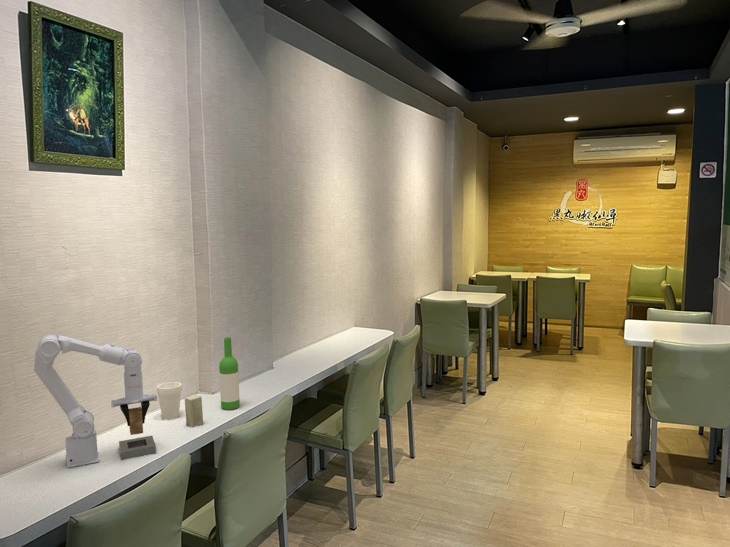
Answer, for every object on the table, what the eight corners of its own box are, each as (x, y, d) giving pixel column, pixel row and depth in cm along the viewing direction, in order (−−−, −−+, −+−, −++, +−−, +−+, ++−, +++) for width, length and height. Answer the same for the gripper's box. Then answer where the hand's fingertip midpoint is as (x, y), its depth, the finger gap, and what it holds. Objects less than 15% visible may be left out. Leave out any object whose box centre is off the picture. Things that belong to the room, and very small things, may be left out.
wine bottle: (222, 411, 232) (219, 340, 229) (219, 406, 239) (216, 336, 236) (241, 409, 235) (238, 338, 232) (238, 403, 242) (235, 335, 239)
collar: (121, 460, 187) (120, 452, 186) (119, 448, 197) (118, 441, 196) (156, 453, 192) (155, 446, 191) (152, 442, 201) (152, 435, 201)
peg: (130, 435, 191) (129, 412, 190) (129, 431, 194) (128, 408, 194) (143, 432, 193) (141, 410, 192) (142, 429, 196) (140, 406, 195)
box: (197, 421, 221) (195, 394, 220) (203, 423, 219) (202, 396, 218) (185, 425, 217) (184, 397, 216) (191, 427, 215) (190, 399, 214)
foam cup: (173, 411, 234) (172, 380, 233) (187, 415, 229) (186, 384, 227) (153, 417, 226) (151, 386, 225) (167, 422, 221) (166, 390, 220)
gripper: (110, 391, 185) (113, 431, 186) (157, 385, 191) (159, 423, 193) (110, 386, 191) (112, 424, 193) (155, 380, 198) (157, 417, 199)
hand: (135, 423), depth 193 cm, fingers closed on peg, 4 cm apart
